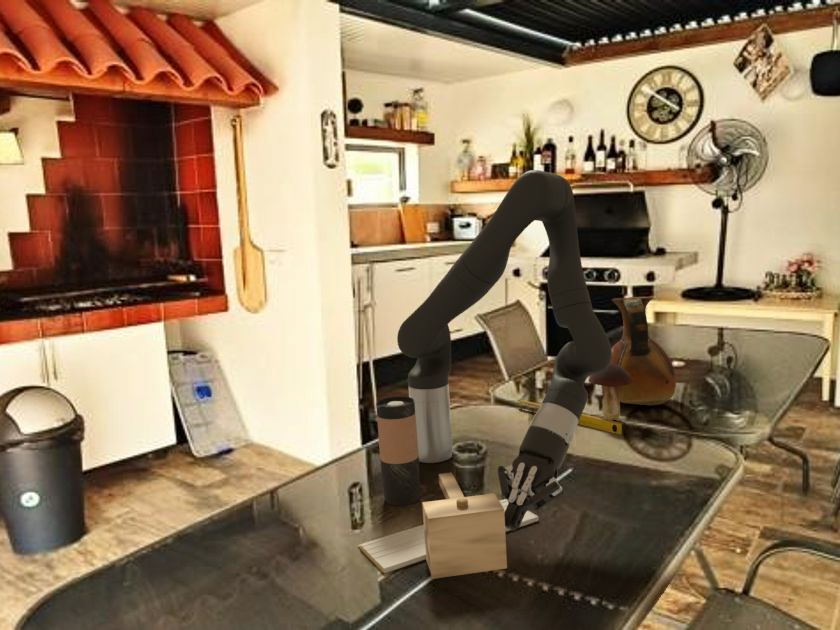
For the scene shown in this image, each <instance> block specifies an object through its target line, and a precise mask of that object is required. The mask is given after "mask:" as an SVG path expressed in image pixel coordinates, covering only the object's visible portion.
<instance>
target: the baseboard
mask: <svg viewBox="0 0 840 630" xmlns="http://www.w3.org/2000/svg"><path fill="white" fill-rule="evenodd" d="M500 497H502V499H501V500H500V499H499V501H500V503H501V505H502V506H503V508H504V512H505V510H506V508H507V506H508V500H507V499H506V498H505V497H504V496H503V495H502V494H500ZM532 510H533V511H535V510H534V509H532ZM535 512H536V513H537V514H538V513H539V510H538V511H535ZM537 514H534V513H533V512H532V511H531V510H528V511H526V513H525V515H524V518H523V520H522V522H521V524H520V526H519V527H518V528H517V529H519V528H521V527H524V526H527V525H530V524H533V523H535V522H539V516H538V515H537ZM509 531H511V530H510V529H508V528H506V527H505V533H506V532H507V533H508V532H509ZM357 547H358V549H360V550H361V551H362V553H364V555H365V556H366V557H368V558H369V560H371V562H372V563H374V565H376V567H377V568H378V569H379V570H380V571H381V572H382V573H383V574H387V573H390V572H393V571H396V570H399V569H402V568H404V567H408V566H410V565H413V564H416V563H419V562H422V561H425V560H426V550H425V535H424V524H421V525H417V526H415V527H411V528H409V529H405V530H402V531H399V532H395V533H391V534H389V535H386V536H382V537H380V538H375V539H372V540H370V541H367V542H364V543H360V544H358V545H357Z"/></svg>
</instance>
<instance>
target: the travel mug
mask: <svg viewBox="0 0 840 630" xmlns="http://www.w3.org/2000/svg"><path fill="white" fill-rule="evenodd" d="M375 405H376V418H377V431H378V432H377V433H378V435H377V436H378V446H379V458H380V460H379V461H380V469H381V470H380V471H381V479H382V488H383V497H384V501H385V502H386V503H387V504H389V505H392V506H399V507H401V506H409V505H412V504H414V503H416V502H418V501H419V500H420V498H421V487H420V486H421V483H420V462H419V454H418V441H417V429H416V416H415V403H414V399H413V398H410V397H409V396H403V395H402V396H401V395H399V396H398V395H397V396H396V395H395V396H389V397H385V398H381V399H379V400H378V401H376V403H375Z"/></svg>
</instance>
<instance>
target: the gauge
mask: <svg viewBox="0 0 840 630" xmlns="http://www.w3.org/2000/svg"><path fill="white" fill-rule="evenodd" d="M438 484H439V487H440V489H441V491H442V494H443V495H444V498H445V499H438V500H432V501H429V500H428V501H422V502H421V505H422V518H423V519H422V520H423V525H424V535H425V550H426V559H425V560H426V563H427V567H428V569H429V570H428V571H429V573H430V576H431V579H434V580H435V579H441V578H447V577H454V576H462V575H469V574H478V573H483V572H490V571H497V570H504V569H508V563H507V562H508V561H507V560H508V559H507V542H506V541H507V540H506V539H507V538H506V532H505V516H504V508H503V506H502V505H501V503H500V499H498V497H497V495H496V494H495V493H487V494H480V495H479V494H478V495H472V496H465V495H464V494H463V492H462V490H461V488H460V485H459V484H458V481H457V480H456V478H455V476H454V474H453V472H452V471H451V472H444V473H438Z"/></svg>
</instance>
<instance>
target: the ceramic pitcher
mask: <svg viewBox="0 0 840 630" xmlns="http://www.w3.org/2000/svg"><path fill="white" fill-rule="evenodd" d="M652 300H653V296H636V297H635V296H630V297H628V296H627V297H619V298H618V297H617V298H616V297H615V298H612V299H611V301H612V302H613V303H614V304H615V305H616V306H617V307H618V309H619V310H620V313H621V315H622V317H621V318H622V321H623V328H622V329H623V332H622V336H621V338H620V340H619V341H617V342H616V343H615V344H614V345H613V346H611V349H612V359H611V363H610V364H615V365H617V366H620V367H621V368H623V369H624V370H625V371H626V372H628V373H629V375H630V376H631V378H632V380H633V382H632V383H631V384H628V385H624V386H617V390H618V394H619V401H620V403H623V404H629V405H638V406H640V405H641V406H657V405H659V406H660V405H662V403H663V404H664V403H666V402H668V401H669V400H670V399H672V398H673V396H674V394H675V393H676V385H677V379H676V373H675V370H674V369H675V368H674V367H673V363H672V361H671V359H670V357H669V356H668V354H667V352H666V350H664V348H663V347H662V346H661V345H660V344H659V343H658V342H657V341H656V340H654V339H652V338H650V336H649V326H648V325H649V324H648V320H647V315H646V308H647V306H648V304H649V303H650V302H651V301H652ZM604 389H605V386H603V385H601V390H602V394H603V395H604Z"/></svg>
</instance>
